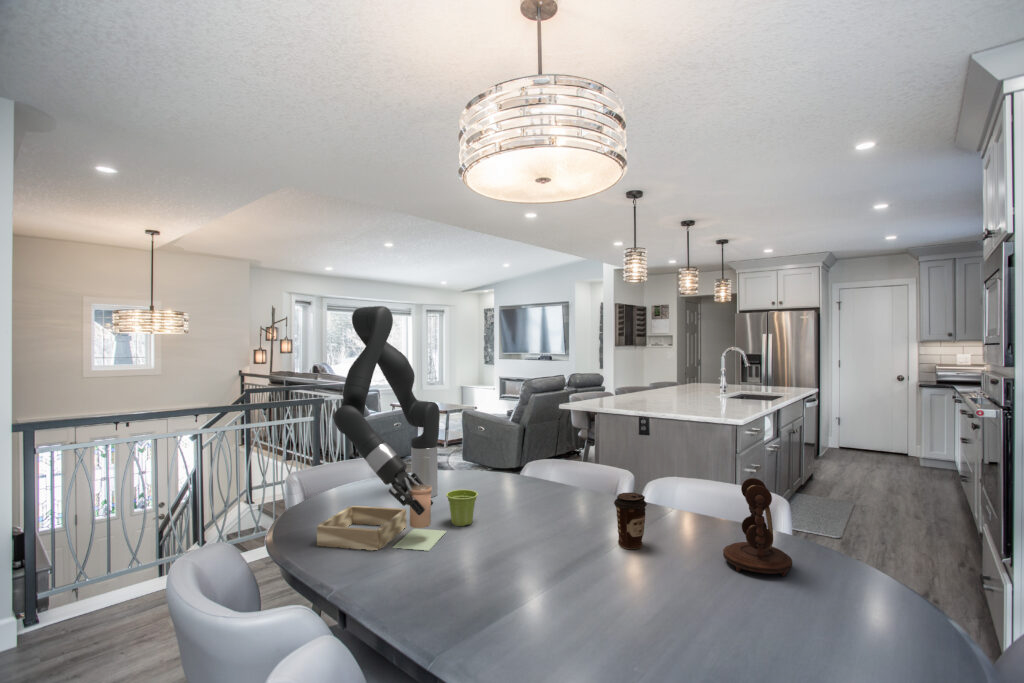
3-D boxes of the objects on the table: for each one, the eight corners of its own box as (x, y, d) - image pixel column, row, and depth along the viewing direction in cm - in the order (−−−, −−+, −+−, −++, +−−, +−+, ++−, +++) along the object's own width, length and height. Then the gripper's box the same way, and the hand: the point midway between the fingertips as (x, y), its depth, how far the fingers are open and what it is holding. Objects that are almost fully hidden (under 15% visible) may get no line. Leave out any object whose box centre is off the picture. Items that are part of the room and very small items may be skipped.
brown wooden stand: (799, 583, 111) (798, 492, 112) (727, 575, 116) (725, 487, 116) (784, 557, 126) (783, 476, 126) (720, 550, 130) (719, 472, 130)
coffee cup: (654, 545, 134) (653, 495, 134) (638, 554, 128) (637, 502, 128) (624, 536, 140) (624, 489, 140) (608, 545, 134) (607, 496, 134)
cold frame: (350, 522, 153) (350, 505, 153) (408, 526, 149) (407, 509, 149) (314, 545, 135) (314, 526, 135) (378, 550, 131) (378, 531, 131)
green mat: (413, 529, 146) (413, 528, 146) (446, 531, 144) (446, 530, 144) (392, 548, 133) (392, 547, 133) (428, 551, 131) (428, 550, 131)
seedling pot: (414, 520, 142) (414, 484, 142) (434, 521, 141) (434, 485, 141) (405, 527, 136) (405, 489, 136) (426, 529, 135) (426, 490, 135)
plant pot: (480, 518, 156) (480, 489, 156) (474, 529, 146) (474, 498, 147) (450, 517, 157) (450, 489, 157) (443, 528, 147) (443, 498, 148)
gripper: (383, 459, 133) (426, 508, 131) (405, 449, 147) (444, 492, 145) (364, 478, 134) (406, 527, 132) (388, 466, 148) (427, 510, 146)
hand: (426, 509), depth 138 cm, fingers closed on seedling pot, 5 cm apart
